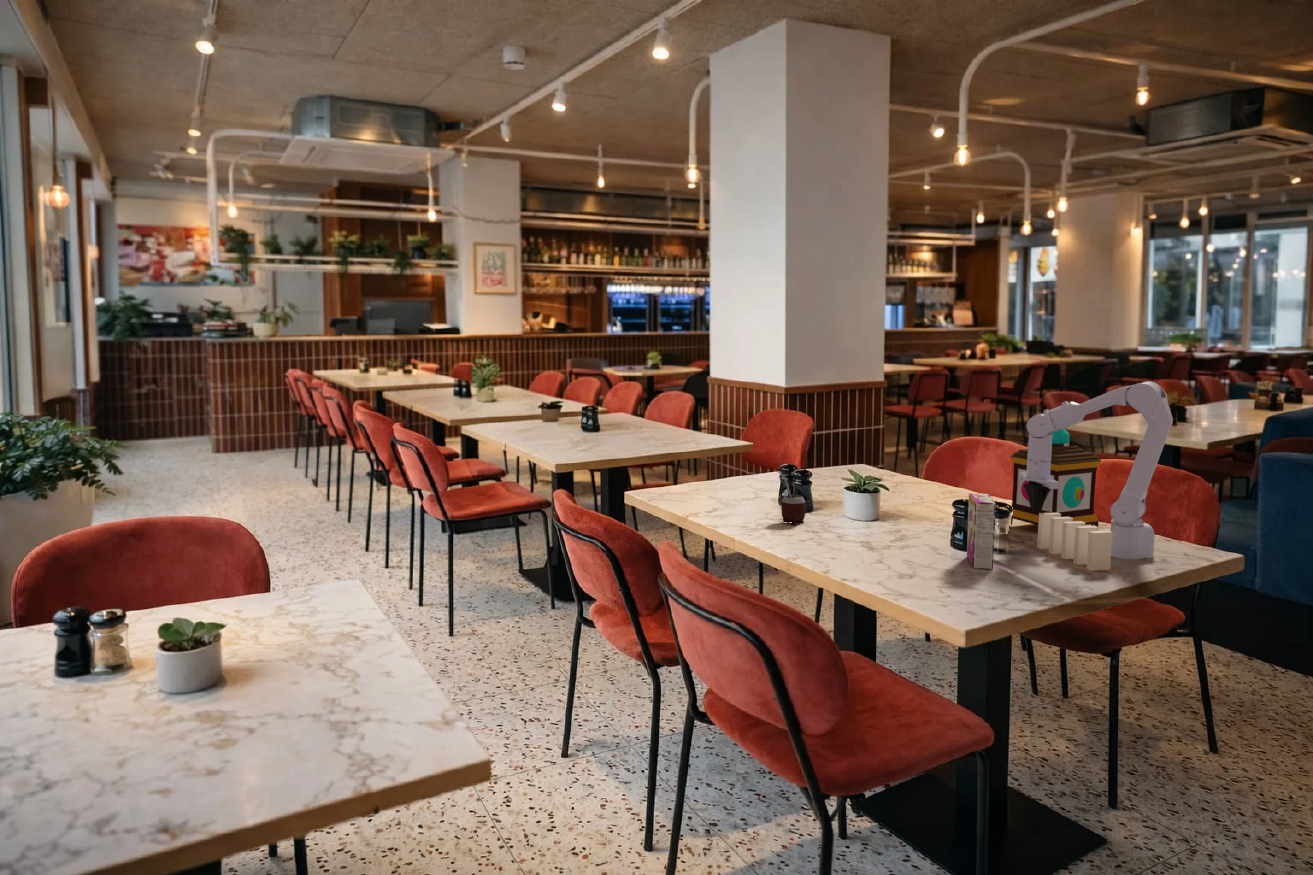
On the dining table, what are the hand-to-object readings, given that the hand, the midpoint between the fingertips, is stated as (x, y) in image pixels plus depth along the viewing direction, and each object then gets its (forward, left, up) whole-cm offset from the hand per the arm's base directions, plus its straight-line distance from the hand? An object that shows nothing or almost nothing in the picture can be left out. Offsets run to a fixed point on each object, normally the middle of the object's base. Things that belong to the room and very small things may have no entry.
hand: (1036, 511), depth 233 cm
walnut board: (0, +16, -9) cm, 18 cm away
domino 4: (0, +21, -8) cm, 23 cm away
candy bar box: (+23, +14, -9) cm, 29 cm away
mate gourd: (+55, -35, -9) cm, 66 cm away
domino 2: (0, +11, -8) cm, 14 cm away
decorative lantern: (-15, -15, -9) cm, 23 cm away
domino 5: (0, +26, -8) cm, 27 cm away
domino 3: (0, +16, -8) cm, 18 cm away
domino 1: (0, +6, -8) cm, 10 cm away
